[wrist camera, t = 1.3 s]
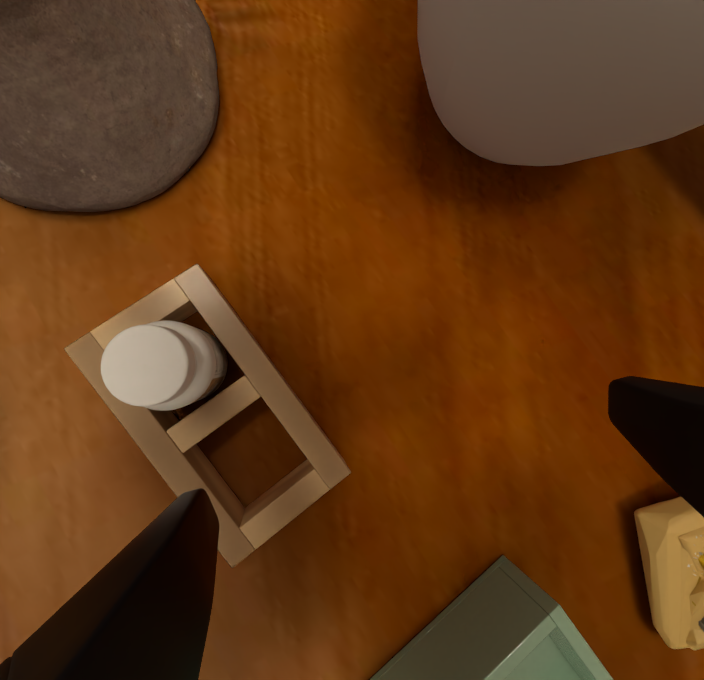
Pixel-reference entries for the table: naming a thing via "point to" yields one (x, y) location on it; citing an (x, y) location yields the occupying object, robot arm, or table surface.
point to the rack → (217, 416)
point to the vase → (562, 74)
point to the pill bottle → (163, 365)
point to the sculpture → (102, 100)
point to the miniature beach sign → (674, 570)
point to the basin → (498, 637)
